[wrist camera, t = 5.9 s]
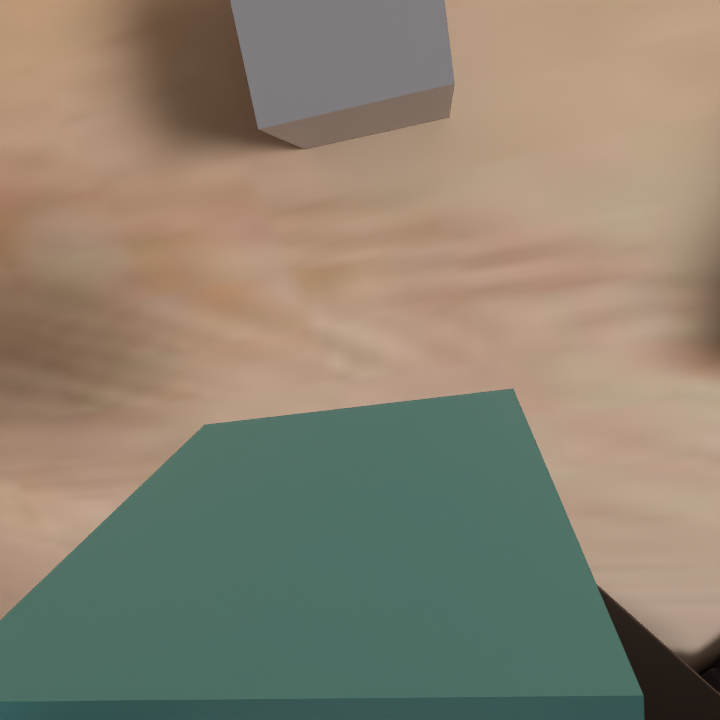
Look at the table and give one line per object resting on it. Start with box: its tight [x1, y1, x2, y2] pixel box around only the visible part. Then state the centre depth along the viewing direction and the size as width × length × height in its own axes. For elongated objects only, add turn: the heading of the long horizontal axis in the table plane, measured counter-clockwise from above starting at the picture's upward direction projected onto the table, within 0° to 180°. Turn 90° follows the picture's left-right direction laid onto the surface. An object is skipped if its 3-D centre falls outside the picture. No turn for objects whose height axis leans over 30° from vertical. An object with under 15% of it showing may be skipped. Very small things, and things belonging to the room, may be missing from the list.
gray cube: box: [230, 0, 454, 149], centre depth 14 cm, size 5×5×5 cm
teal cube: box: [0, 389, 645, 720], centre depth 6 cm, size 5×5×5 cm
